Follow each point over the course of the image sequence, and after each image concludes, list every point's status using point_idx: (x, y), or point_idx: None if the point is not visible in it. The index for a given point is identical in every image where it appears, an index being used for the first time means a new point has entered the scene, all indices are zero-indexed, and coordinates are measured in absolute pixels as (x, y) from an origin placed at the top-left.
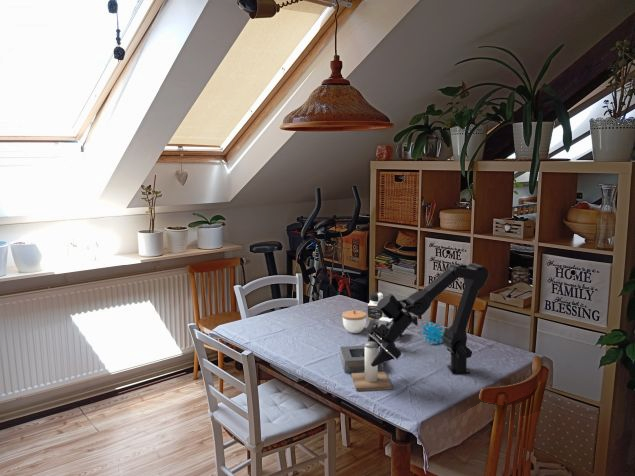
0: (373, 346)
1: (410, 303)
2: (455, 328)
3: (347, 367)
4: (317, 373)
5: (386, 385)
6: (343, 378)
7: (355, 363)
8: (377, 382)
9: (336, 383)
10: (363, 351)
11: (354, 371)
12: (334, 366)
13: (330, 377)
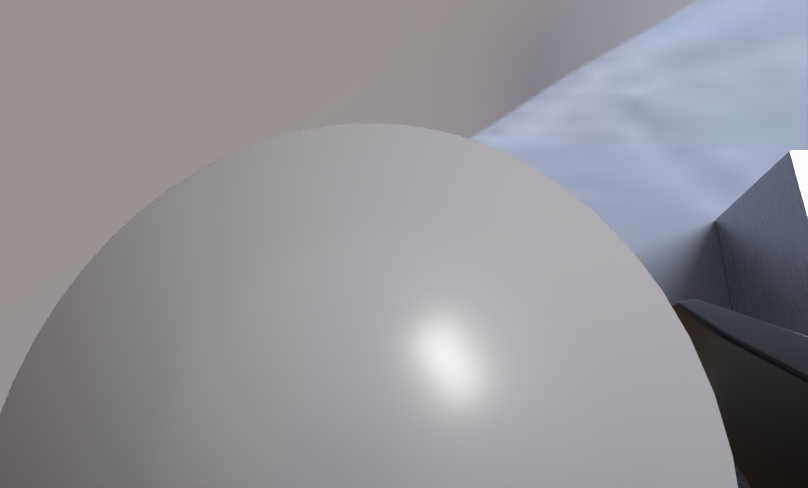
0: (14, 483)
1: None
2: None
3: (749, 221)
4: (696, 22)
5: None
6: (580, 195)
7: (795, 297)
8: None
9: (488, 138)
10: (743, 323)
11: (736, 310)
12: None
13: (609, 104)
